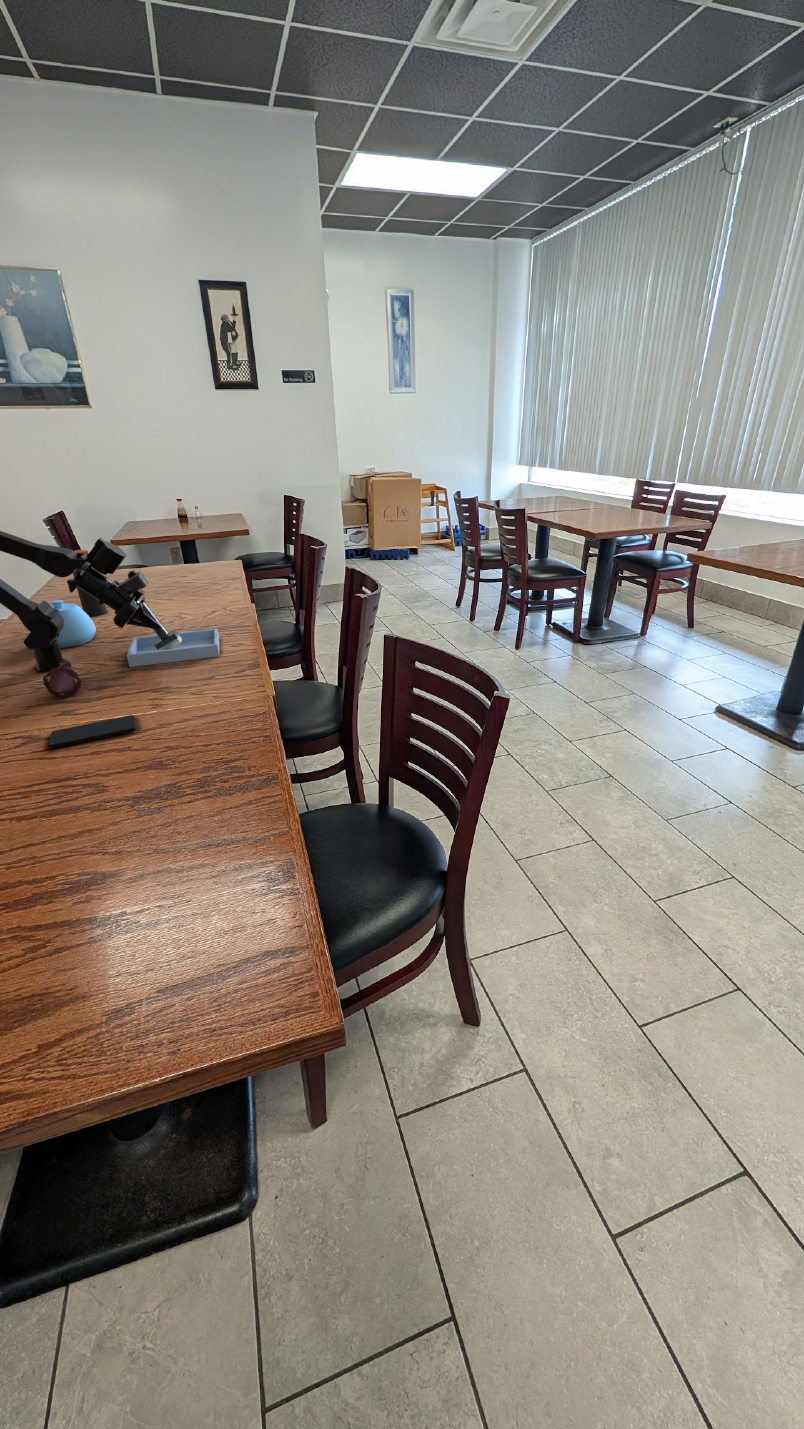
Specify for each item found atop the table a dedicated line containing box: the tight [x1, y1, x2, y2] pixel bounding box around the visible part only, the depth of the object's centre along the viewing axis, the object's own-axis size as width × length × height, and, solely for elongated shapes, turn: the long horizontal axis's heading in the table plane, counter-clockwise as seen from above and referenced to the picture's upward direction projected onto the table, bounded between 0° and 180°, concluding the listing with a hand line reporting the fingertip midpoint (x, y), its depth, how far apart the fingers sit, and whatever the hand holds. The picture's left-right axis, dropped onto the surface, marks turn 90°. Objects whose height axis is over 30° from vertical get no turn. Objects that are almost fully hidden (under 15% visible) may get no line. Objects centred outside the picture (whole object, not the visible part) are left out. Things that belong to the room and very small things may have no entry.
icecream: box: [42, 661, 82, 698], centre depth 129 cm, size 7×7×15 cm
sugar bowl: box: [50, 599, 97, 649], centre depth 163 cm, size 15×15×12 cm
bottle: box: [72, 549, 108, 617], centre depth 187 cm, size 7×7×20 cm
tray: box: [126, 628, 220, 668], centre depth 153 cm, size 22×15×3 cm
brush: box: [138, 602, 182, 651], centre depth 150 cm, size 6×4×13 cm
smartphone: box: [48, 714, 137, 749], centre depth 112 cm, size 7×1×15 cm
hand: (160, 626), depth 150 cm, fingers closed on brush, 2 cm apart
